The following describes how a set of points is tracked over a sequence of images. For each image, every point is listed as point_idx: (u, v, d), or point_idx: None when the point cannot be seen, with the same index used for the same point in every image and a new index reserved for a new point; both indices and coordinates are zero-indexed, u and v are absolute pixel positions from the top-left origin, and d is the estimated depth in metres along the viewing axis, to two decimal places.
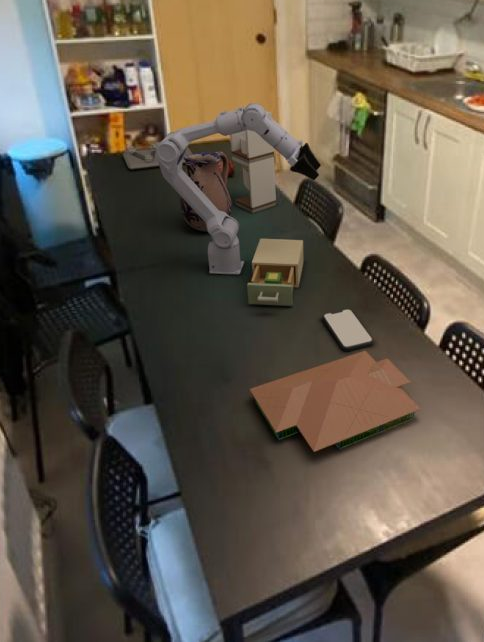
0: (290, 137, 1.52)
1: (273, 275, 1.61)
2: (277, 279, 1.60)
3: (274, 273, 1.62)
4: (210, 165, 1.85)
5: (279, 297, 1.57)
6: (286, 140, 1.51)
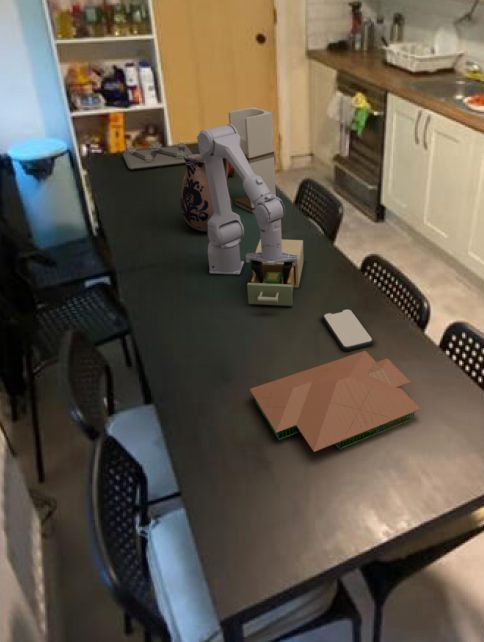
0: (267, 251, 1.54)
1: (273, 275, 1.61)
2: (277, 279, 1.60)
3: (274, 273, 1.62)
4: None
5: (279, 297, 1.57)
6: (262, 247, 1.54)
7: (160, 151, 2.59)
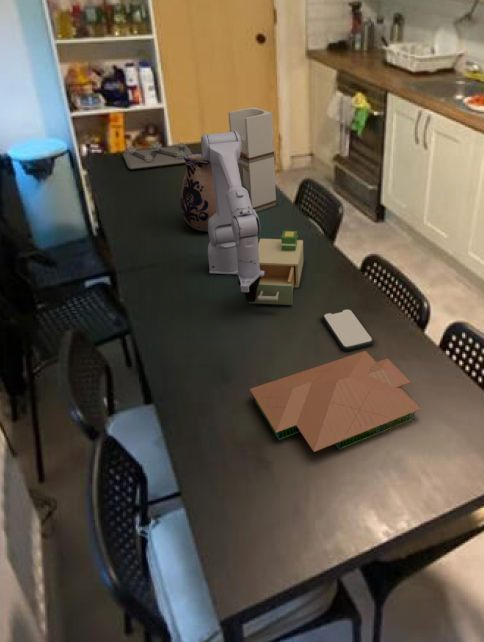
0: (258, 264, 1.49)
1: (290, 233, 1.70)
2: (293, 236, 1.69)
3: (290, 231, 1.72)
4: (210, 165, 1.85)
5: (279, 296, 1.57)
6: (253, 265, 1.47)
7: (160, 151, 2.59)
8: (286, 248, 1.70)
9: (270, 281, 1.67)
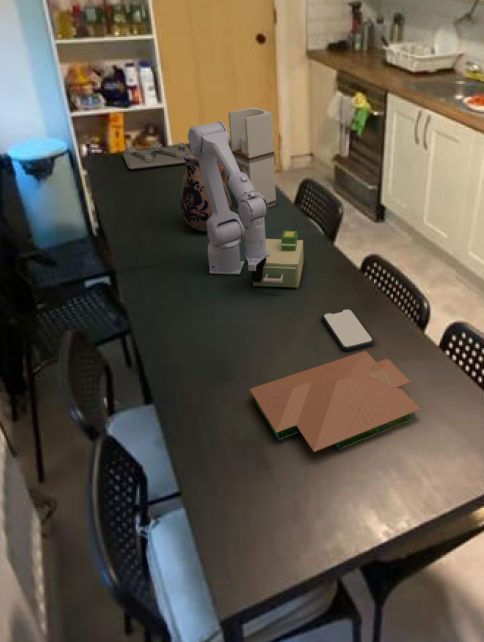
0: (264, 245, 1.58)
1: (290, 233, 1.70)
2: (293, 236, 1.69)
3: (290, 231, 1.72)
4: None
5: (283, 279, 1.65)
6: (260, 246, 1.56)
7: (160, 151, 2.59)
8: (286, 248, 1.70)
9: (274, 265, 1.75)
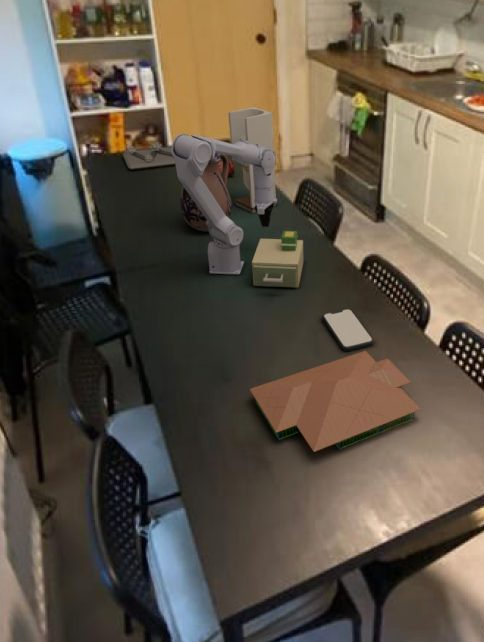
0: (271, 191, 1.74)
1: (290, 233, 1.70)
2: (293, 236, 1.69)
3: (290, 231, 1.72)
4: (210, 165, 1.85)
5: (283, 279, 1.65)
6: (268, 192, 1.72)
7: (160, 151, 2.59)
8: (286, 248, 1.70)
9: (274, 265, 1.75)
